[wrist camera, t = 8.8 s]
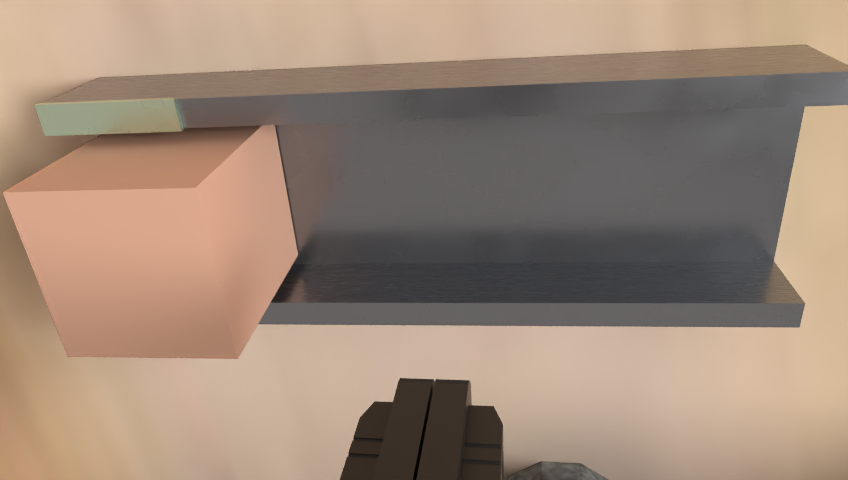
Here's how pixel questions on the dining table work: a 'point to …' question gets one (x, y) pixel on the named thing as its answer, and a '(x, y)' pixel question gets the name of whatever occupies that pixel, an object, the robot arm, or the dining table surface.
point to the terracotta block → (159, 240)
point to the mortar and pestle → (556, 472)
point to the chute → (514, 181)
